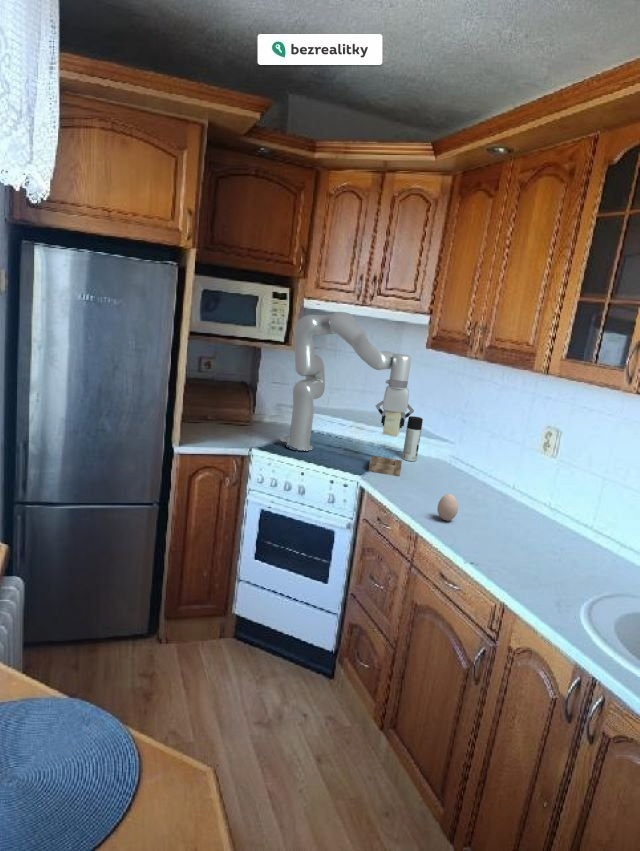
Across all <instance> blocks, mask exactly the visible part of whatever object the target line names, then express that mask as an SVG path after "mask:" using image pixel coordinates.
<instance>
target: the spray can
mask: <svg viewBox="0 0 640 851" xmlns="http://www.w3.org/2000/svg"><path fill="white" fill-rule="evenodd" d="M423 421H424V419H423V418H422V417H420V416H413V415H412V416H411V415H410V416H408V417H407V424H406V430H405V431H406V432H405V438H404V443H403V451H402V459H403V460H404V461H406V460H407V462H412V461H413V462H416V461H417V459H418V452H419V446H420V441H421V433H422V428H423Z"/></svg>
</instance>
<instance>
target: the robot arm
mask: <svg viewBox="0 0 640 851" xmlns="http://www.w3.org/2000/svg"><path fill="white" fill-rule="evenodd" d="M293 333H294V334H293V336H294V364H295V368H294V369H295V371H296V374H297V375H299V376H301V377H305V379H304V378H303V379H300V380H298V381H297V382H296V383H295V384H294V386H293V389H292V413H291V422H290V429H289V430H290V431H289V436H287V437H284V436H280V437H279V442H282V443H285V444H286V443H287V445H290V446H292V447H294V448H297V449H298V450H304V451H305V450H306V451H308V450H312V449H314V447H313V446H312V445H310V444H311V437H312V431H313V430H312V428H313V420H314V410H315V408H314V407H315V406H314V400H317V399H319V398H321V397H322V396H323V395H324V393H325V390H326V389H325V387H326V383H325V381H326V379H325V363H324V360H323V359H322V357H321V356H319V355H318V354H315V342H314V339H313V336H314V335H319V336H320V335H321V336H324V335H334V334H336V335H338V336H339V337H340V338H341V339H342V340H344V341H345V342H346V343H347V344H348V345H349V346H350V347H351V348H352V349H353V351H354V352H355V353H356V355H357V356H358V357H359V358H360V359H361V360H362V361H363V362H364V363H365V364H367V365H368V366H369V367H370V368H372V369H374V370H376V371H383V370H390V374H389V379H385V384H387V385H386V387H385V391H384V396H383V400H382V401H380V402H378V403H377V404H376V405H375V408H376V409H377V411H378V413H379V414H380V415H381V420H380V421H381V423H380V424H382V425H381V426H382V427H384V423H385V416H386V411H391V412H400V413H401V414H402V418H401V425H400V429H402V428H403V427H404V426H405V423H406V422H405V421H406V419H408V418H409V417H410V416H411V415H412V414H413V413H415V410H414V408H412V406H411V404H409V396H410V395H409V388H408V384H409V376H410V369H411V364H412V363H411V362H412V358H411V356H410V355H409V354H405V353H395V352H391V351H389V350H386V351H383V350H379V349H378V348H377V347H376V346H374V345H373V344H372V342H370V341H369V339H368V336H367V332H366V330H364V329H363V328H362V327H361V326H360V325H358V324H357V322H356V319H355V317H354V315H352V314H351V313H350V312H344V311H336V312H334V313H332V314H325V315H322V314H321V315H319V314H307V315H305V316H303V317H301V318H300V319H299V320H298V321H297V323H296V325H294V331H293ZM381 406H382V408H381ZM408 410H409V411H408ZM407 411H408V412H407ZM312 451H313V450H312Z"/></svg>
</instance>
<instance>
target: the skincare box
mask: <svg viewBox="0 0 640 851" xmlns="http://www.w3.org/2000/svg"><path fill="white" fill-rule="evenodd" d="M401 418H402V414H401V413H400V412H391V411H386V414H385V423H384V426H383V428H382V429H383V431H382V434H383V435H386V436H391V437H398V436H399V435H400V429H401V428H400V425H401Z"/></svg>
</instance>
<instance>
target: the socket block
mask: <svg viewBox="0 0 640 851" xmlns="http://www.w3.org/2000/svg"><path fill="white" fill-rule="evenodd" d="M402 462H403V461H402V460H401V459H396V458H395V459H394V458H389V457H382V456H376V455H371V457H370V461H369V467H368V472H370V471H373V472H372V473H377V474H383V475H388V474H389V476H394V475H395V476H396V477H401V472H402Z"/></svg>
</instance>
